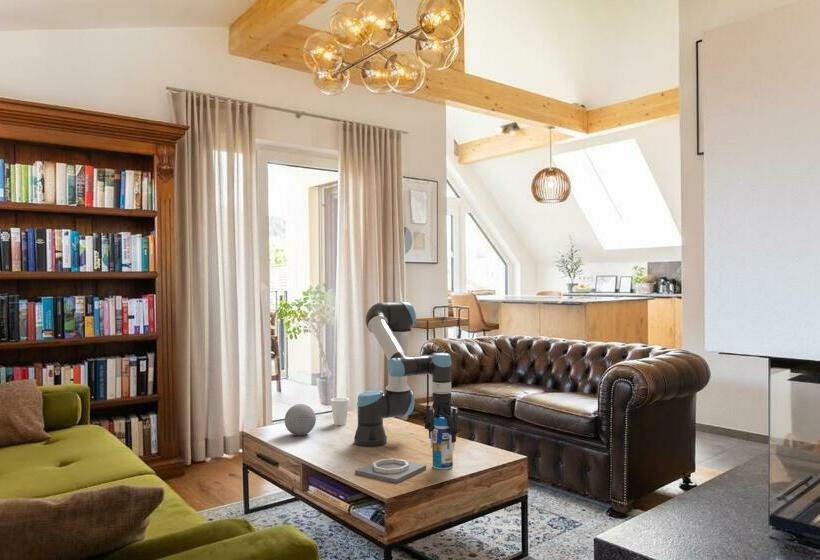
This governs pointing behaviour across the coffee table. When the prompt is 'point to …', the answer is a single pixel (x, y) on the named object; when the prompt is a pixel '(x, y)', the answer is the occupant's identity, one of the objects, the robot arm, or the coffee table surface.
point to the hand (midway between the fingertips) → (442, 448)
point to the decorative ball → (300, 419)
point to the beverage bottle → (441, 444)
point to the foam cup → (340, 410)
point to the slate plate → (390, 476)
